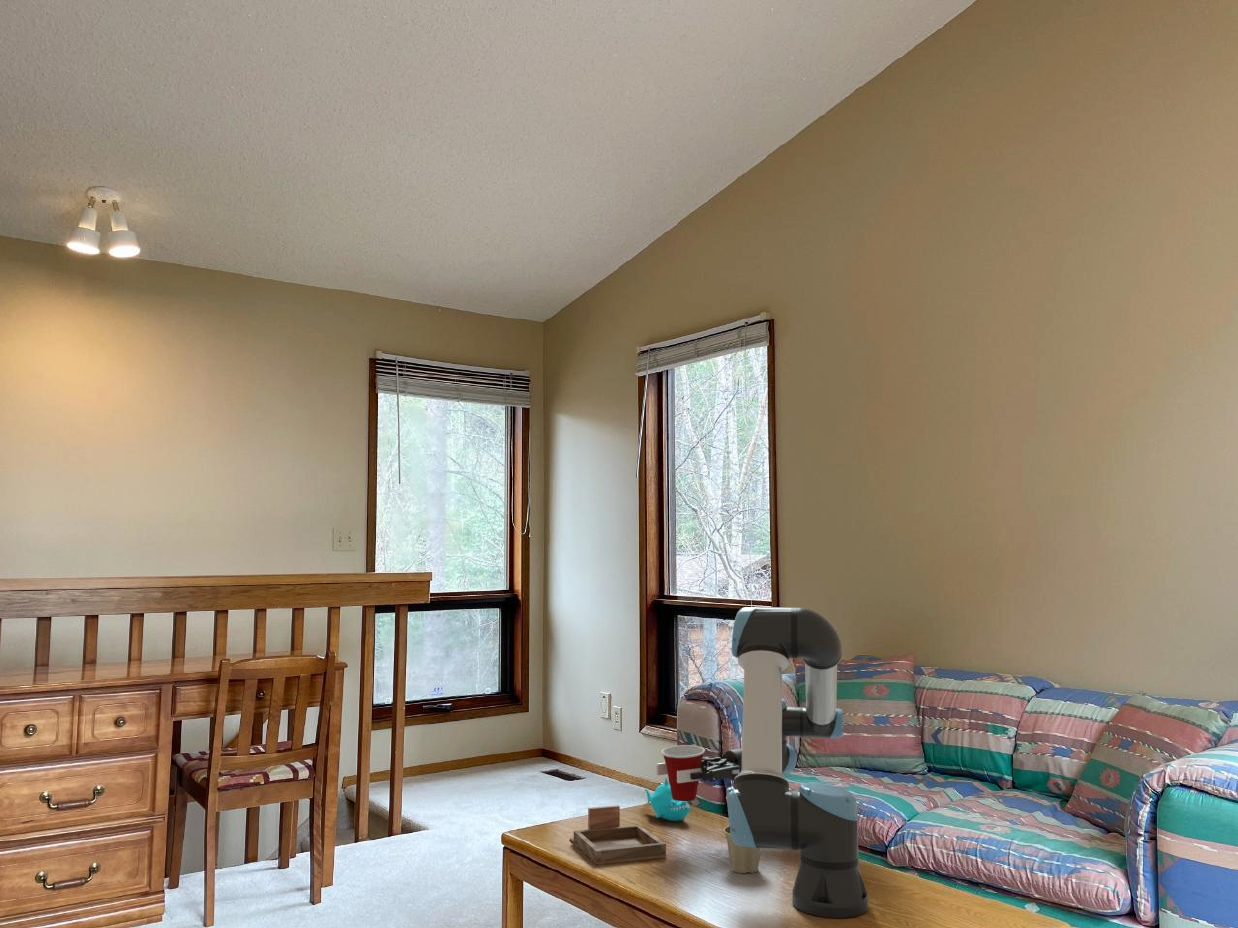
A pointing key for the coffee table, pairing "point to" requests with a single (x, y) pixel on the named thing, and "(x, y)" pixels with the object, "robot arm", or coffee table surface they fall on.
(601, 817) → the cup dock
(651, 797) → the toy shark
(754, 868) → the flower pot
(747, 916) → the coffee table surface
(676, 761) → the plastic cup
